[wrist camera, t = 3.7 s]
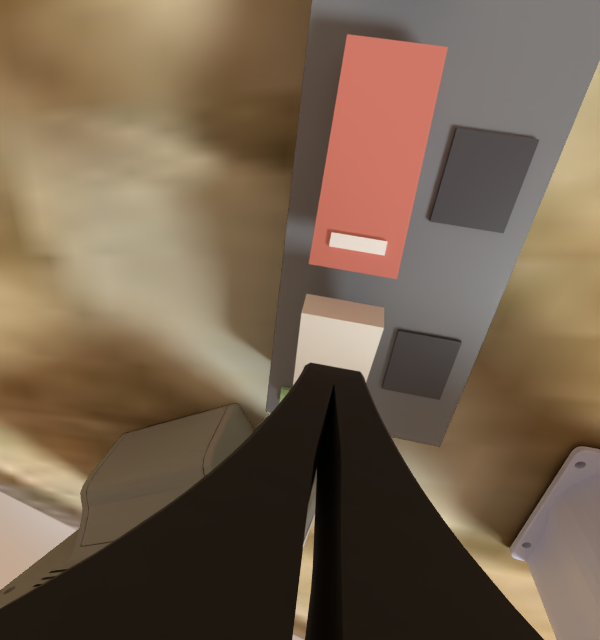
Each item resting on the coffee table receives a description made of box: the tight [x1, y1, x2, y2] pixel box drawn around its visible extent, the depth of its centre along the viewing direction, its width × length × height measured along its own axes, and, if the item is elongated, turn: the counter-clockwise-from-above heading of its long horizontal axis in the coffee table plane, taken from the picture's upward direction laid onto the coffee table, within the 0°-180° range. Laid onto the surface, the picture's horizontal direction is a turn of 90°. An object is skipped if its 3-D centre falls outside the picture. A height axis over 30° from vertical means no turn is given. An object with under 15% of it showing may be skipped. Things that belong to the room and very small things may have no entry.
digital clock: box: [0, 404, 317, 608], centre depth 20 cm, size 16×9×11 cm, turn 102°
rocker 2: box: [293, 294, 384, 385], centre depth 14 cm, size 6×3×1 cm, turn 174°
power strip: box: [266, 0, 600, 447], centre depth 12 cm, size 26×8×4 cm, turn 173°
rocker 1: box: [309, 34, 448, 279], centre depth 11 cm, size 6×3×1 cm, turn 172°
